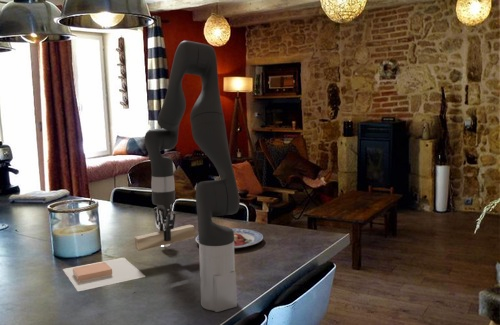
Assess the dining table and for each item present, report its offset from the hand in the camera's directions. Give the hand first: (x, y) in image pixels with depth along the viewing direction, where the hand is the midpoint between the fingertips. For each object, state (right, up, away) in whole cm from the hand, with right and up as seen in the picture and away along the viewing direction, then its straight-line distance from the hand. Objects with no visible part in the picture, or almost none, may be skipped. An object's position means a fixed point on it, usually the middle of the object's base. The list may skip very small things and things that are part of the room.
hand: (165, 239), depth 159 cm
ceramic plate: (+20, -5, +23) cm, 31 cm away
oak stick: (0, -1, 0) cm, 1 cm away
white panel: (-18, -10, -10) cm, 23 cm away
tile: (-16, -7, -9) cm, 20 cm away
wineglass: (-4, -6, +21) cm, 22 cm away
